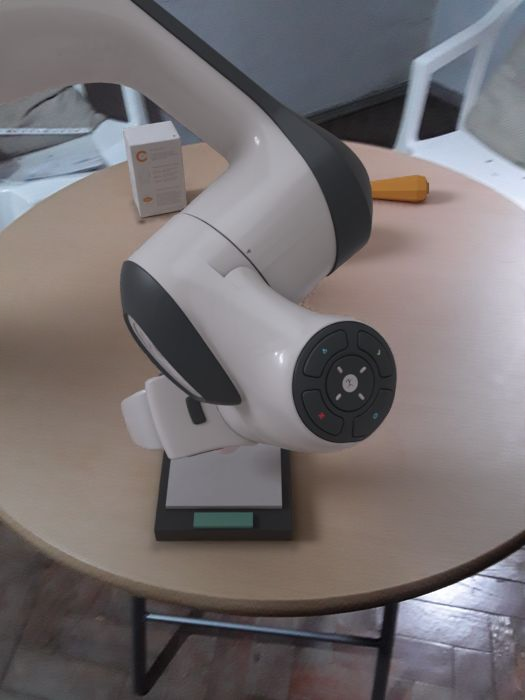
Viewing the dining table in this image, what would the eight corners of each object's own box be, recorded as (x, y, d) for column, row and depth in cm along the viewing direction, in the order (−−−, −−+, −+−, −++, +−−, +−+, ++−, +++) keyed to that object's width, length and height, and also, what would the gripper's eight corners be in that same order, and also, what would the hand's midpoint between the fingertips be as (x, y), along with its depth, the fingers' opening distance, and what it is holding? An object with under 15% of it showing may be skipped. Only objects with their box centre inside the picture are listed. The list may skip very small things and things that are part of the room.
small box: (178, 190, 118) (171, 119, 109) (188, 210, 114) (181, 137, 104) (132, 198, 116) (121, 127, 107) (140, 218, 112) (129, 145, 102)
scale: (155, 540, 70) (153, 527, 68) (168, 433, 80) (166, 419, 78) (291, 540, 70) (292, 527, 68) (287, 433, 80) (288, 419, 78)
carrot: (426, 199, 117) (427, 172, 116) (429, 203, 113) (430, 176, 112) (311, 202, 120) (310, 176, 119) (309, 207, 116) (308, 180, 114)
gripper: (364, 308, 56) (303, 324, 69) (125, 387, 50) (107, 387, 63) (387, 381, 56) (322, 383, 69) (151, 469, 50) (129, 452, 63)
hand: (218, 386), depth 66 cm, fingers closed on smoothie, 6 cm apart
